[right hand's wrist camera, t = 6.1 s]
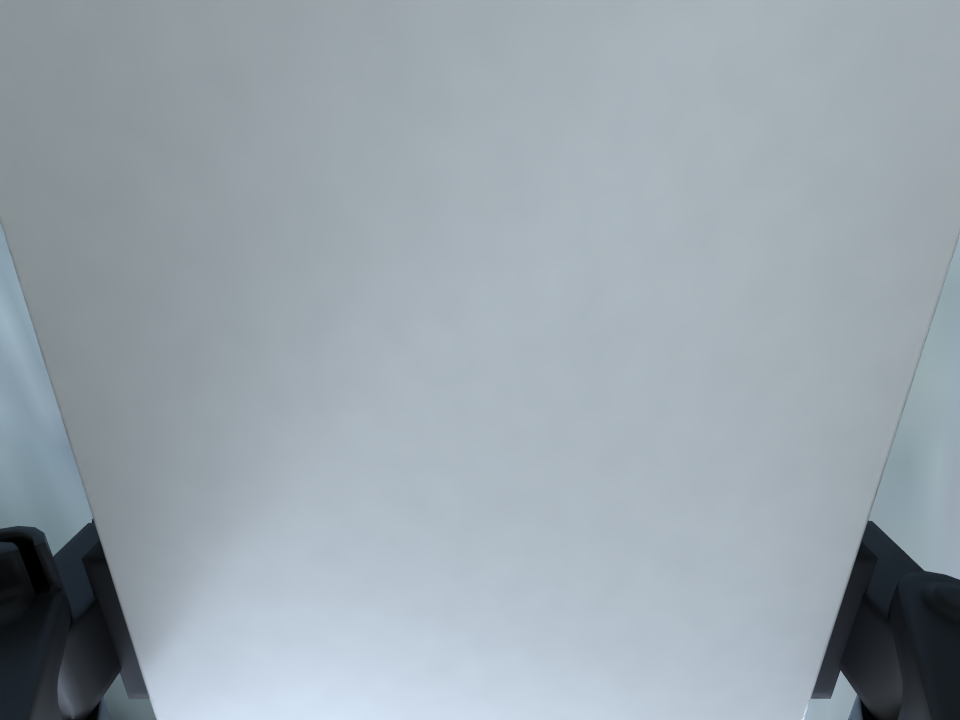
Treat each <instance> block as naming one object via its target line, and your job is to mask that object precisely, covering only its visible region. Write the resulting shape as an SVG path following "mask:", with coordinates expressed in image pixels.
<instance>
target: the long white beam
mask: <svg viewBox="0 0 960 720" xmlns="http://www.w3.org/2000/svg"><path fill="white" fill-rule="evenodd" d="M0 222H1V225H2V228H3V231H4V235H5V238H6V241H7V244H8V247H9V251H10V254H11V257H12V260H13V263H14V267H15V270H16V273H17V276H18V279H19V283H20V286H21V289H22V292H23V295H24V299H25V302H26V305H27V308H28V311H29V315H30V318H31V321H32V324H33V327H34V330H35V334H36V337H37V340H38V343H39V346H40V350H41V353H42V356H43V359H44V362H45V366H46V369H47V372H48V375H49V378H50V382H51V385H52V388H53V391H54V394H55V398H56V401H57V404H58V407H59V410H60V414H61V417H62V420H63V423H64V426H65V430H66V433H67V436H68V439H69V442H70V445H71V449H72V452H73V455H74V458H75V461H76V465H77V468H78V471H79V474H80V477H81V481H82V484H83V487H84V490H85V493H86V497H87V500H88V503H89V506H90V509H91V513H92V516H93V519H94V522H95V525H96V529H97V532H98V535H99V538H100V541H101V545H102V548H103V551H104V554H105V557H106V560H107V564H108V567H109V570H110V573H111V576H112V580H113V583H114V586H115V589H116V592H117V596H118V599H119V602H120V605H121V608H122V612H123V615H124V618H125V621H126V624H127V628H128V631H129V634H130V637H131V640H132V644H133V647H134V650H135V653H136V656H137V659H138V663H139V666H140V669H141V672H142V675H143V679H144V682H145V685H146V688H147V691H148V695H149V698H150V701H151V704H152V707H153V711H154V714H155V717H156V720H804V718H805V714H806V711H807V708H808V705H809V702H810V699H811V696H812V693H813V690H814V686H815V683H816V680H817V677H818V674H819V671H820V668H821V665H822V662H823V659H824V655H825V652H826V649H827V646H828V643H829V640H830V637H831V634H832V631H833V627H834V624H835V621H836V618H837V615H838V612H839V609H840V606H841V603H842V599H843V596H844V593H845V590H846V587H847V584H848V581H849V578H850V575H851V571H852V568H853V565H854V562H855V559H856V556H857V553H858V550H859V547H860V543H861V540H862V537H863V534H864V531H865V528H866V525H867V522H868V519H869V515H870V512H871V509H872V506H873V503H874V500H875V497H876V494H877V491H878V487H879V484H880V481H881V478H882V475H883V472H884V469H885V466H886V463H887V459H888V456H889V453H890V450H891V447H892V444H893V441H894V438H895V435H896V432H897V428H898V425H899V422H900V419H901V416H902V413H903V410H904V407H905V404H906V400H907V397H908V394H909V391H910V388H911V385H912V382H913V379H914V376H915V372H916V369H917V366H918V363H919V360H920V357H921V354H922V351H923V348H924V344H925V341H926V338H927V335H928V332H929V329H930V326H931V323H932V320H933V316H934V313H935V310H936V307H937V304H938V301H939V298H940V295H941V292H942V288H943V285H944V282H945V279H946V276H947V273H948V270H949V267H950V264H951V260H952V257H953V254H954V251H955V248H956V245H957V242H958V239H959V236H960V0H0Z"/></svg>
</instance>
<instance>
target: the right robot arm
mask: <svg viewBox="0 0 960 720" xmlns="http://www.w3.org/2000/svg"><path fill="white" fill-rule="evenodd" d="M840 670H841V671H842V673H843V674H844V676H845V677H846V679H847V680H848V681H849V683H850V684H851V686H852V687H853V689H854V690H855V692H856V693H857V697H856V699H855V702H854V705H853V708H852V710H851V713H850V716H849V719H848V720H960V580H959V579H956V578H953V577H950V576H948V575H944V574H939V573H933V572H927V571H924V570H923V569H922V568H921V567H920V566H919V565H918V564H917V563H916V562H914V561H913V560H912V559H911V558H910V557H909V556H908V555H907V554H906V553H905V552H904V551H903V550H902V549H901V548H900V547H899V546H898V545H897V544H896V543H895V542H893V541H892V540H891V539H890V538H889V537H888V536H887V535H886V534H885V533H884V532H883V531H882V530H881V529H880V528H879V527H878V526H877V525H876V524H875V523H873V522H872V521H868V522H867V525H866V528H865V531H864V534H863V537H862V540H861V543H860V547H859V550H858V553H857V556H856V559H855V562H854V565H853V568H852V571H851V575H850V578H849V581H848V584H847V587H846V590H845V593H844V596H843V599H842V603H841V606H840V609H839V612H838V615H837V618H836V621H835V624H834V627H833V631H832V634H831V637H830V640H829V643H828V646H827V649H826V652H825V655H824V659H823V662H822V665H821V668H820V671H819V674H818V677H817V680H816V683H815V686H814V690H813V693H812V696H811V699H831V696H832V693H833V690H834V687H835V684H836V681H837V679H838V676H839V673H840ZM119 672H120V674H121V677H122V680H123V683H124V686H125V689H126V692H127V695H128V698H129V699H150V698H149V695H148V691H147V688H146V685H145V682H144V679H143V675H142V672H141V669H140V666H139V663H138V659H137V656H136V653H135V650H134V647H133V644H132V640H131V637H130V634H129V631H128V628H127V624H126V621H125V618H124V615H123V612H122V608H121V605H120V602H119V599H118V596H117V592H116V589H115V586H114V583H113V580H112V576H111V573H110V570H109V567H108V564H107V560H106V557H105V554H104V551H103V548H102V545H101V541H100V538H99V535H98V532H97V529H96V525H95V522H94V519H92V523H88V524H87V525H86V526H85V527H84V528H83V529H82V530H81V531H79V532H78V533H77V534H76V535H75V536H74V537H73V538H72V539H71V540H70V541H69V542H68V543H67V544H66V545H65V546H64V547H63V548H62V549H61V550H60V551H59V552H58V553H57V554H55V555H54V556H52V553H51V550H50V548H49V545H48V542H47V539H46V537H45V534H44V533H43V532H42V531H40V530H38V529H37V528H35V527H24V526H15V527H9V528H3V529H0V720H108V719H109V716H108V710H107V705H106V702H105V699H104V697H103V696H104V694H105V693H106V691H107V690H108V688H109V687H110V685H111V684H112V682H113V681H114V680H115V678H116V677H117V675H118V674H119Z"/></svg>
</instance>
